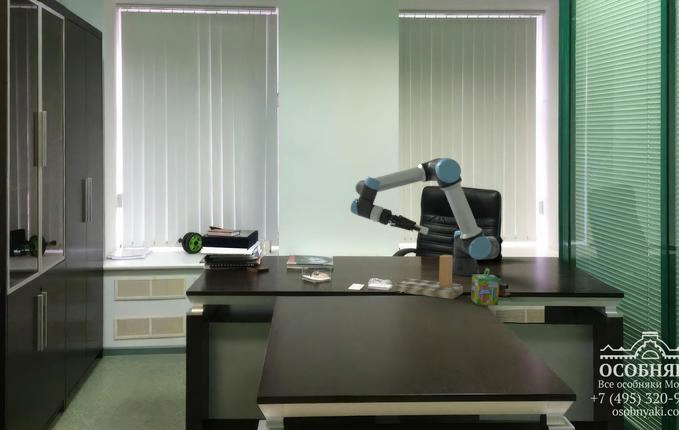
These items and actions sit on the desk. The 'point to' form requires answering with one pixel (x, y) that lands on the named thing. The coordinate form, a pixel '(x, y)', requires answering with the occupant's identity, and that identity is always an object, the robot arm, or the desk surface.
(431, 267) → the desk surface
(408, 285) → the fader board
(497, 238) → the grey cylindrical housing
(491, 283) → the chalk box
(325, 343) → the desk surface
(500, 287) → the electronic device
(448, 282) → the tall orange upright pillar
